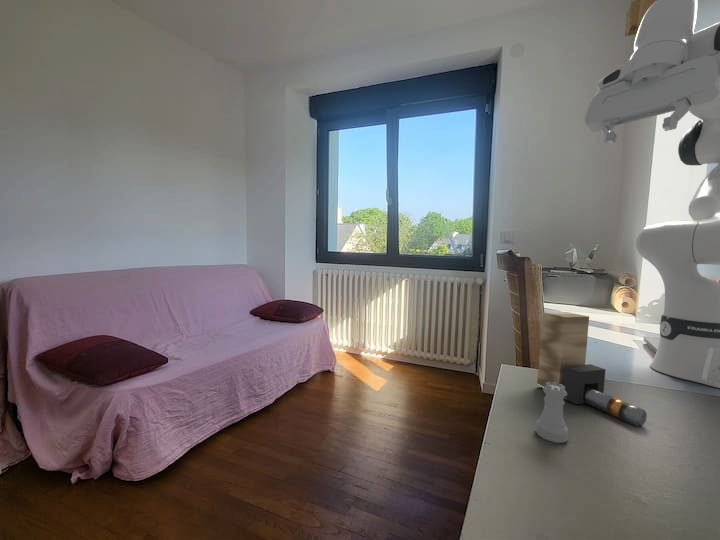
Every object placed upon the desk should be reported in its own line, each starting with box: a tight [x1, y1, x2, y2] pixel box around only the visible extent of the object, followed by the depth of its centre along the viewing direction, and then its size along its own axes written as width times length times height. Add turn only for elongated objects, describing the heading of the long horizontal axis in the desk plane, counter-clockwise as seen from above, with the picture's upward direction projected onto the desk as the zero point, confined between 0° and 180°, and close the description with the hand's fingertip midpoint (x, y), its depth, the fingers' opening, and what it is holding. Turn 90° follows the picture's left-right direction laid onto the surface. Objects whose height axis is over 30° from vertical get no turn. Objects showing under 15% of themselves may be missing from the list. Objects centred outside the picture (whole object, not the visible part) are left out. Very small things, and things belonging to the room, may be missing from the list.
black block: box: [563, 364, 606, 405], centre depth 65 cm, size 3×7×6 cm, turn 109°
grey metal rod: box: [583, 386, 647, 428], centre depth 63 cm, size 15×3×3 cm, turn 20°
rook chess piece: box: [535, 382, 569, 444], centre depth 51 cm, size 4×4×8 cm
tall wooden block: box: [536, 311, 590, 387], centre depth 69 cm, size 5×7×16 cm
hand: (637, 135), depth 64 cm, fingers open, 8 cm apart
